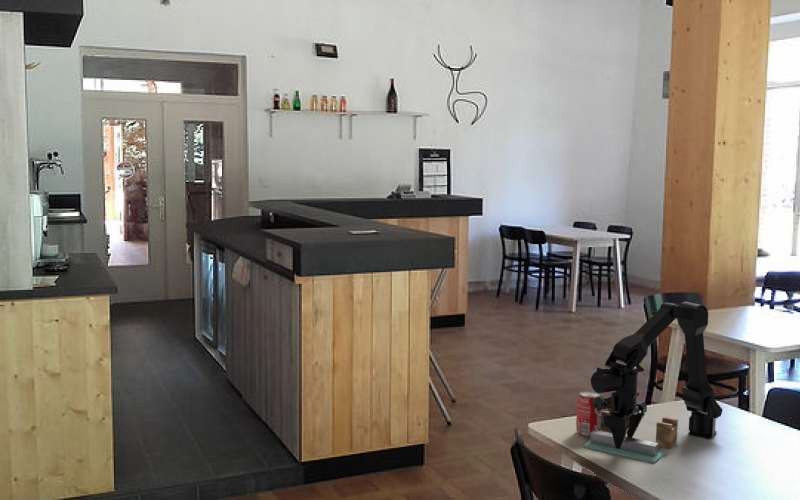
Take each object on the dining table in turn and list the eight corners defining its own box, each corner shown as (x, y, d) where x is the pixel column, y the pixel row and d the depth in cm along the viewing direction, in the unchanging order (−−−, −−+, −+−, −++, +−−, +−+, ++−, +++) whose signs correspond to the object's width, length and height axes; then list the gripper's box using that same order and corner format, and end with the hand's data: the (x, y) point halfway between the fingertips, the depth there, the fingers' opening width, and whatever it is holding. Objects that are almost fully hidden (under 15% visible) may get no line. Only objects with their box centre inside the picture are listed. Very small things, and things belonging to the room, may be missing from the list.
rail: (657, 453, 218) (658, 443, 217) (654, 457, 215) (654, 446, 215) (594, 440, 228) (594, 429, 228) (590, 443, 225) (590, 432, 225)
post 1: (621, 431, 237) (622, 408, 237) (613, 437, 232) (614, 414, 231) (608, 428, 240) (609, 406, 239) (600, 434, 234) (601, 411, 234)
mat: (664, 454, 219) (664, 452, 219) (655, 463, 213) (655, 461, 212) (594, 438, 230) (594, 436, 230) (583, 446, 224) (583, 444, 224)
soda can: (598, 430, 238) (600, 390, 236) (602, 438, 231) (604, 398, 229) (574, 429, 238) (576, 389, 237) (577, 437, 231) (578, 397, 230)
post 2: (676, 442, 228) (677, 419, 227) (669, 449, 223) (671, 425, 222) (662, 439, 230) (663, 416, 230) (655, 446, 225) (656, 422, 224)
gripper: (610, 376, 232) (607, 428, 234) (584, 391, 216) (582, 447, 218) (648, 382, 225) (646, 436, 227) (625, 398, 210) (622, 456, 212)
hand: (623, 443), depth 221 cm, fingers open, 9 cm apart
